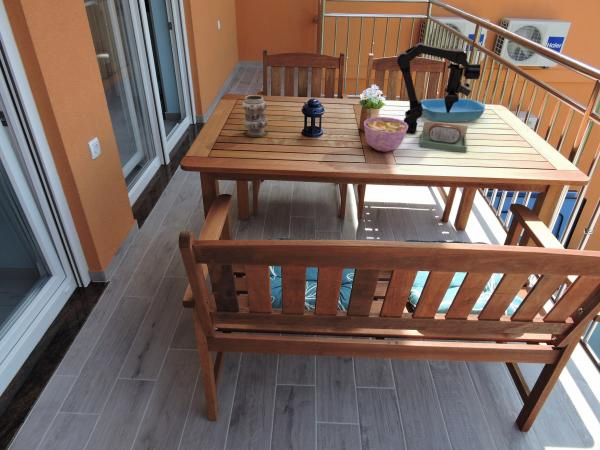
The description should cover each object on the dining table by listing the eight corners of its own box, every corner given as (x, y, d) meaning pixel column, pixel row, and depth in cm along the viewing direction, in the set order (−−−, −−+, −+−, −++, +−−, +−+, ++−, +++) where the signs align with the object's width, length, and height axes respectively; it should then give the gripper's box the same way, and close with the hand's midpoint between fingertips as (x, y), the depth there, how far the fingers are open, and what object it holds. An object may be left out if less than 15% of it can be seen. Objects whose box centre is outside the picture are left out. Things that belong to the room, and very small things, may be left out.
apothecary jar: (262, 127, 215) (261, 92, 205) (271, 135, 206) (270, 99, 196) (240, 131, 211) (237, 95, 201) (248, 139, 202) (246, 102, 192)
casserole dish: (425, 124, 223) (427, 111, 219) (411, 111, 241) (413, 98, 237) (490, 122, 227) (493, 110, 223) (471, 109, 245) (474, 97, 241)
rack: (419, 147, 198) (422, 131, 193) (421, 134, 210) (424, 120, 206) (465, 152, 193) (469, 137, 189) (464, 140, 206) (468, 125, 201)
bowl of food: (369, 136, 207) (372, 114, 200) (409, 144, 199) (413, 121, 193) (355, 151, 192) (357, 127, 186) (397, 160, 185) (401, 135, 178)
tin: (459, 142, 201) (463, 125, 196) (459, 145, 198) (463, 128, 193) (427, 138, 204) (430, 122, 199) (426, 141, 202) (430, 124, 197)
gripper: (473, 85, 187) (465, 118, 196) (472, 75, 202) (464, 106, 211) (448, 82, 190) (441, 116, 199) (448, 73, 205) (441, 104, 213)
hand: (447, 110), depth 205 cm, fingers open, 6 cm apart
